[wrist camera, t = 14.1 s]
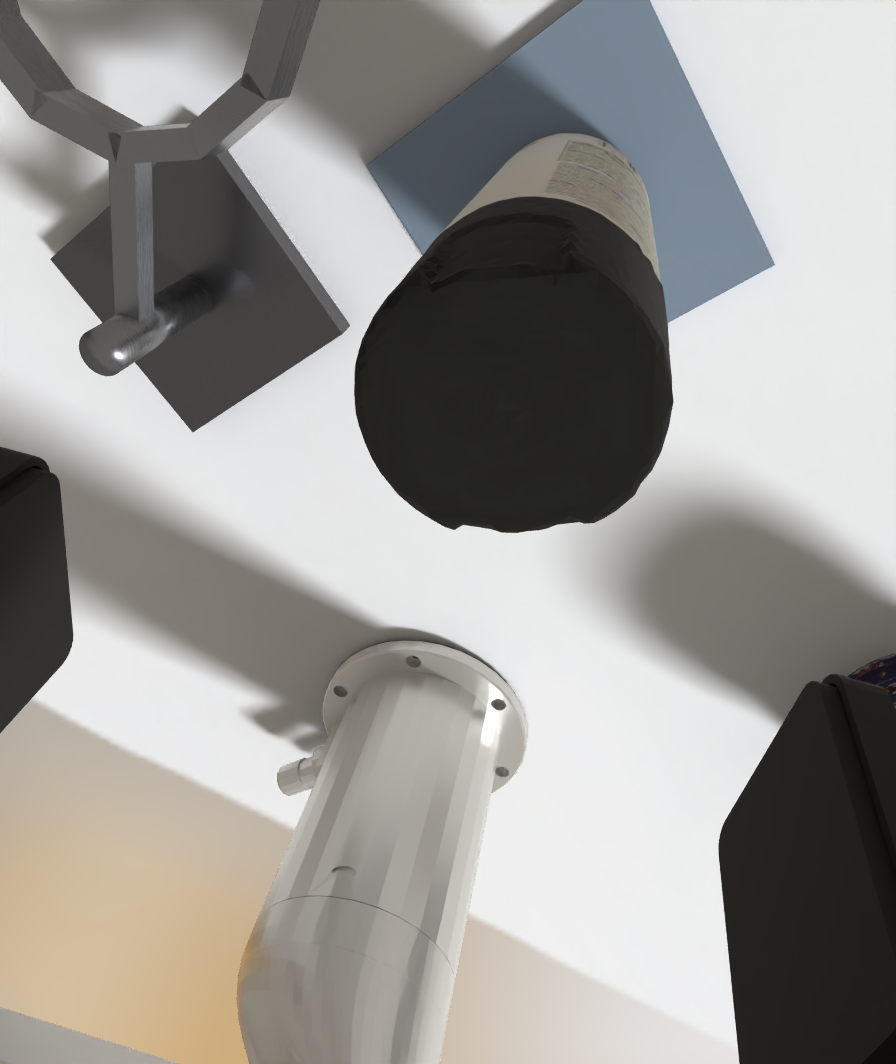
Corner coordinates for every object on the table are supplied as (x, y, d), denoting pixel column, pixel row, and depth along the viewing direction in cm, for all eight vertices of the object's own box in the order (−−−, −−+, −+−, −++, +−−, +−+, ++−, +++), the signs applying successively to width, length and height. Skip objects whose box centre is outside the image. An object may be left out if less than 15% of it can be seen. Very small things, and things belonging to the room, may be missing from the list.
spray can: (477, 139, 32) (309, 262, 15) (654, 117, 31) (679, 228, 14) (493, 307, 36) (370, 557, 19) (654, 296, 34) (674, 556, 17)
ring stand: (203, 422, 42) (109, 508, 35) (-100, 50, 35) (-298, 57, 28) (534, 203, 34) (505, 255, 26) (220, -347, 27) (56, -491, 19)
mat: (520, 398, 38) (518, 403, 38) (370, 163, 34) (366, 165, 34) (772, 261, 33) (774, 264, 32) (632, -37, 29) (631, -37, 28)
